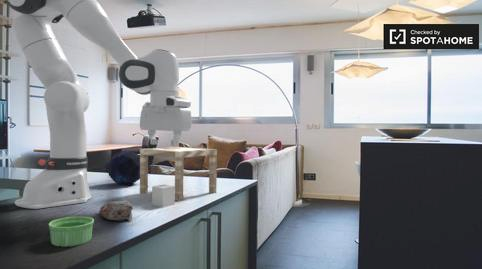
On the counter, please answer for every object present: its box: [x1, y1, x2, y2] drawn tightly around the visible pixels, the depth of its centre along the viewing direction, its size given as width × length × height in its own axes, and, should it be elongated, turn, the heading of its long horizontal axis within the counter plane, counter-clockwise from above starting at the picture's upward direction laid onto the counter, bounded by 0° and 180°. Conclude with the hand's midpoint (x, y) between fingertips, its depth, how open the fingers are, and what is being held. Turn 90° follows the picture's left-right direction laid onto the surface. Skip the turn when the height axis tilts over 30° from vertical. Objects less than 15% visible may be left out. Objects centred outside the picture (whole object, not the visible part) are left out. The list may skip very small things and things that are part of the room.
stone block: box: [151, 184, 176, 208], centre depth 115 cm, size 5×5×6 cm
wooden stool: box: [139, 146, 218, 202], centre depth 135 cm, size 20×20×16 cm
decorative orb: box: [107, 150, 140, 186], centre depth 153 cm, size 14×15×15 cm
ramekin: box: [48, 215, 95, 248], centre depth 79 cm, size 9×9×4 cm
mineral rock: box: [99, 199, 134, 222], centre depth 99 cm, size 15×8×4 cm, turn 25°
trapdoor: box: [153, 147, 207, 151], centre depth 135 cm, size 14×14×1 cm
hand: (164, 145), depth 115 cm, fingers open, 8 cm apart
